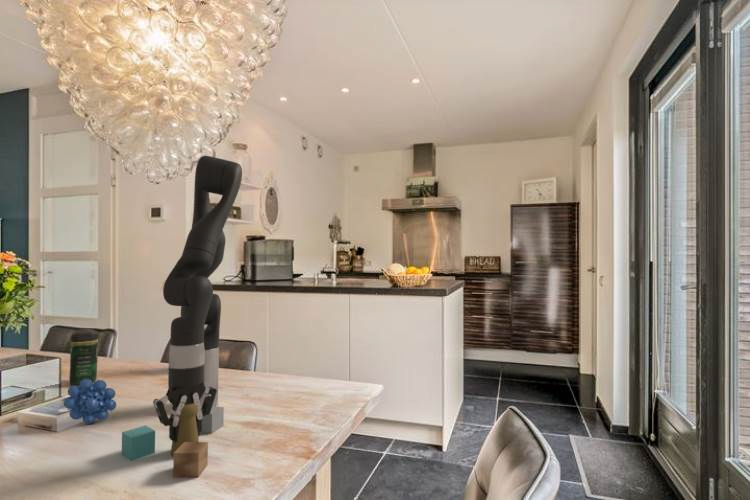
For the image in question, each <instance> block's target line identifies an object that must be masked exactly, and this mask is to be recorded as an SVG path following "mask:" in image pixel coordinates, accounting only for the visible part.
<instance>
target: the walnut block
mask: <svg viewBox="0 0 750 500" xmlns="http://www.w3.org/2000/svg"><path fill="white" fill-rule="evenodd" d="M208 447H209V441H199V442H184V443H183V444H182V445H181V446H180V447H179V448H178V449H177V450H176V451H175V452H174V456H173V457H172V458H173V465H172V466H173V467H172V470H173V471H172V477H173V478H174V479H175V478H176V479H178V478H179V479H182V478H183V479H184V478H185V479H186V478H189V479H190V478H192V479H193V478H194V479H195V478H199V477H200V476H201V475H202V473H203V472H204V471H205V470H206V468H207V467H208V465H209V464H208V462H209V461H208V460H209V459H208V457H209V456H208V455H209V454H208V453H209V448H208Z"/></svg>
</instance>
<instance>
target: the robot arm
mask: <svg viewBox="0 0 750 500" xmlns="http://www.w3.org/2000/svg"><path fill="white" fill-rule="evenodd" d="M242 177H243V168H242V166H241V164H240V163H238V162H234V161H231V160H227V159H224V158H218V157H214V156H210V155H202V156H201V157H199V159H198V160H197V163H196V168H195V174H194V188H193V189H194V193H193V195H194V196H193V213H192V214H193V215H192V222H191V228H190V231H189V232H188V235H187V238H186V241H185V244H184V247H183V251H182V253H181V256H180V258H179V259H178V260H177V262H176V263H175V265H174V267H173V268H172V269H171V271H170V272H169V274H168V275H167V278H166V279H165V282H164V284H163V288H162V294H163V298H164V301H165V302H166V303H167V304H168V305H170V306H174V307H180V316H179V317H176V318H173V320H171V324H170V339H169V340H170V347H169V353H168V378H167V379H168V383H167V384H168V386H167V387H168V389H167V392H166V393H165V395H164V396H162V397H161V398H155V399H153V401H152V403H153V406H154V408H155V409H154V410H155V412H156V415H157V417H158V419H159V422H160V424H163V426H164V427H169V428H168V435H169V436H168V438H169V440H171V442H172V441H173V442H174V443H176V442H177V438H178V431H179V426H178V422H179V417H178V416H180V414H181V410H182V408H183V407H184V404H187V403H194V404H196V405H197V407H198V413H197V414H196V423H197V431H198V437H199V436H200V433H201V430H202V418H203V417H204V416H205V415H209V414H210V412H211V408H212V406H216V407H217V406H218V404H219V373H220V372H219V369H220V368H219V366H220V365H219V363H220V361H219V359H220V358H219V357H220V356H219V354H220V329H221V328H220V326H221V315H222V313H221V312H222V303H221V298H220V296H219V294H217V293H214V288H213V284H212V282H211V281H210V279H209V278H210V276H211V275H213V273H215V272H216V270H217V269H218V267H219V266H220V265H221V263H222V262H223V260H224V254H225V247H226V236H225V235H226V234H225V233H224V230H223V229H224V228H225V225H226V222H227V220H228V219H229V216H230V213H231V211H232V209H233V206H234V204H235V200H236V198H237V196H238V195H239V194H238V193H239V191H240V188H241V185H242V180H243V179H242ZM210 194H215V195H219V196H221V198H220V200H219V201H218V203H217V204H216V205H215V206H214V207H213V208H212V204H211V200H210ZM204 325H207V327H206V328H205V329H204ZM168 402H169V403H170V404H171V408H170V410H169V413H170V414H169V417H168V414H167V410H166V407H167V404H168ZM174 407H175V408H177V410H176V411H174Z"/></svg>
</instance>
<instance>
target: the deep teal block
mask: <svg viewBox="0 0 750 500" xmlns="http://www.w3.org/2000/svg"><path fill="white" fill-rule="evenodd" d="M155 453H156V430H154V429H152V428H151V427H150V426H147V425H141V426H138V427H136V428H132V429H128V430H125V431H121V455H122V456H124V457H125V458H126V459H127V460H129V461H130V462H133V461H135V460H138V459H141V458H144V457H146V456H149V455H152V454H155Z"/></svg>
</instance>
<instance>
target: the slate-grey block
mask: <svg viewBox="0 0 750 500" xmlns="http://www.w3.org/2000/svg"><path fill="white" fill-rule="evenodd" d="M224 409H225V408H224V406H217V405H216V406H212V408H211V412H210V414H209V415H205V416H204V417H203V418H202V430H201V433H202V434H214V433H215V432H217V431H218V430H220V429H221V428H222V427H224V418H225V417H224V415H225V414H224V411H225V410H224Z"/></svg>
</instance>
